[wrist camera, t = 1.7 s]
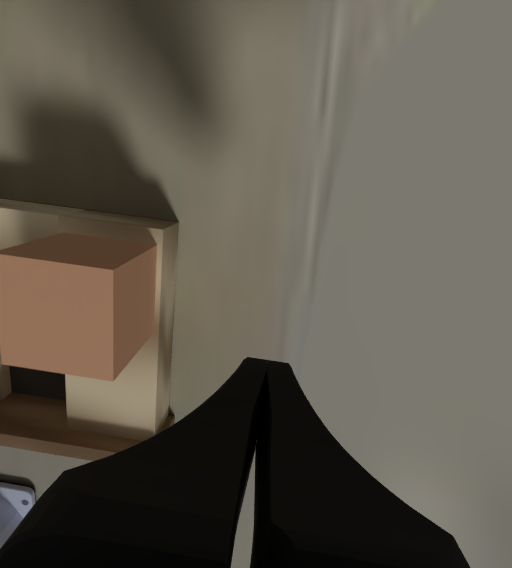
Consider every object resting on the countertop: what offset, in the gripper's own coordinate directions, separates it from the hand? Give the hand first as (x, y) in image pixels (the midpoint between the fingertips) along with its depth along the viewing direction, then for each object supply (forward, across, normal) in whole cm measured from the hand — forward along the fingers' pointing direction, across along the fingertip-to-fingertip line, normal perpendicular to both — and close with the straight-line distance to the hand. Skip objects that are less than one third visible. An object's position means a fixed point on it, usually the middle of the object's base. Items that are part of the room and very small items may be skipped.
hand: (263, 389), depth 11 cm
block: (+7, +8, 0) cm, 11 cm away
